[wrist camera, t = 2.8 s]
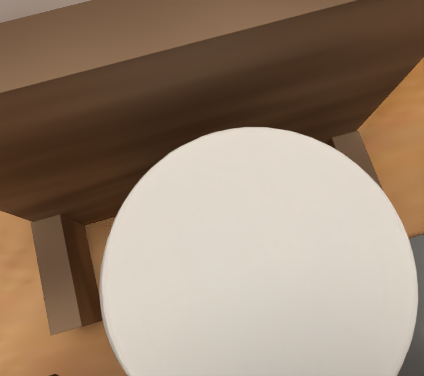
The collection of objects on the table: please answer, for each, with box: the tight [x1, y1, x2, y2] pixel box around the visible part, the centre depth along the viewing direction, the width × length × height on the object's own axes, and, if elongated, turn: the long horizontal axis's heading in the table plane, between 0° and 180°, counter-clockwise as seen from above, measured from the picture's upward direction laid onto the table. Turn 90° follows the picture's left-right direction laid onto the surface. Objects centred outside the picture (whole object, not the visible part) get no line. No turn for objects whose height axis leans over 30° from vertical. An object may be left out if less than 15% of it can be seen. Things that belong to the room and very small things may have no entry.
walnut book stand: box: [0, 0, 424, 335], centre depth 13 cm, size 6×14×12 cm, turn 106°
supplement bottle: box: [99, 127, 418, 376], centre depth 12 cm, size 7×7×13 cm
